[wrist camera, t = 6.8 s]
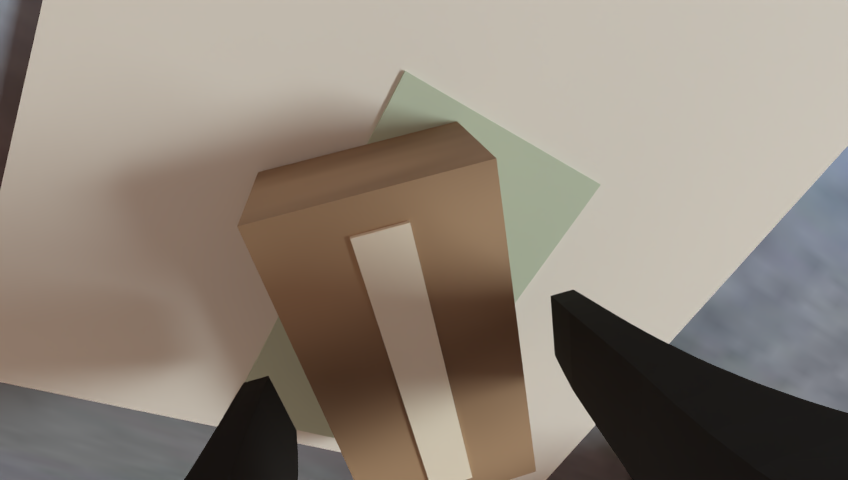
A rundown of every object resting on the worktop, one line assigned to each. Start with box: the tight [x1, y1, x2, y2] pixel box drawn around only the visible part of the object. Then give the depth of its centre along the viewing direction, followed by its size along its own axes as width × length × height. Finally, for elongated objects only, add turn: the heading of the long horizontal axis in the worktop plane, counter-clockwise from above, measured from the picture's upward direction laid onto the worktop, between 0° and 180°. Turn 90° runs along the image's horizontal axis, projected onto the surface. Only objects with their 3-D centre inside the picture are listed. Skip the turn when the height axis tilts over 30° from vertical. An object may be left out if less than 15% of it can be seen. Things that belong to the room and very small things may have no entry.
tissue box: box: [237, 121, 536, 480], centre depth 12 cm, size 10×5×3 cm, turn 11°
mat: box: [0, 0, 848, 480], centre depth 13 cm, size 20×20×1 cm
